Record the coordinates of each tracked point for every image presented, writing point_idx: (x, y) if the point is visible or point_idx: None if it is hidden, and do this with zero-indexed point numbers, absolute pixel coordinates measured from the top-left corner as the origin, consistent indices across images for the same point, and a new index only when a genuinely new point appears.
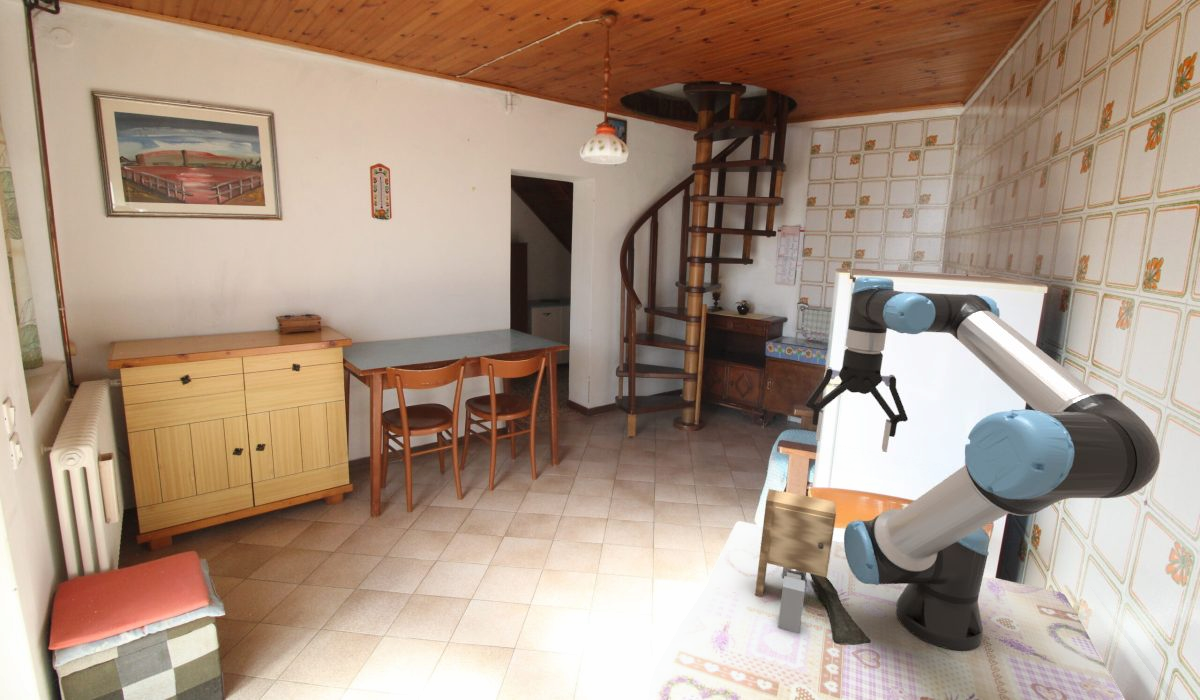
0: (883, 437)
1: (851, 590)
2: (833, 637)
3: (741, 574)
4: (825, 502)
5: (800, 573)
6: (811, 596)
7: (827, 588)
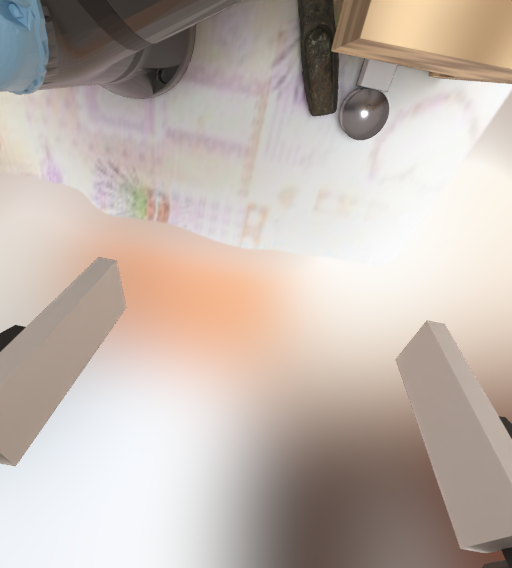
0: (95, 344)
1: (261, 99)
2: None
3: (469, 92)
4: (413, 8)
5: (361, 90)
6: None
7: (315, 57)
